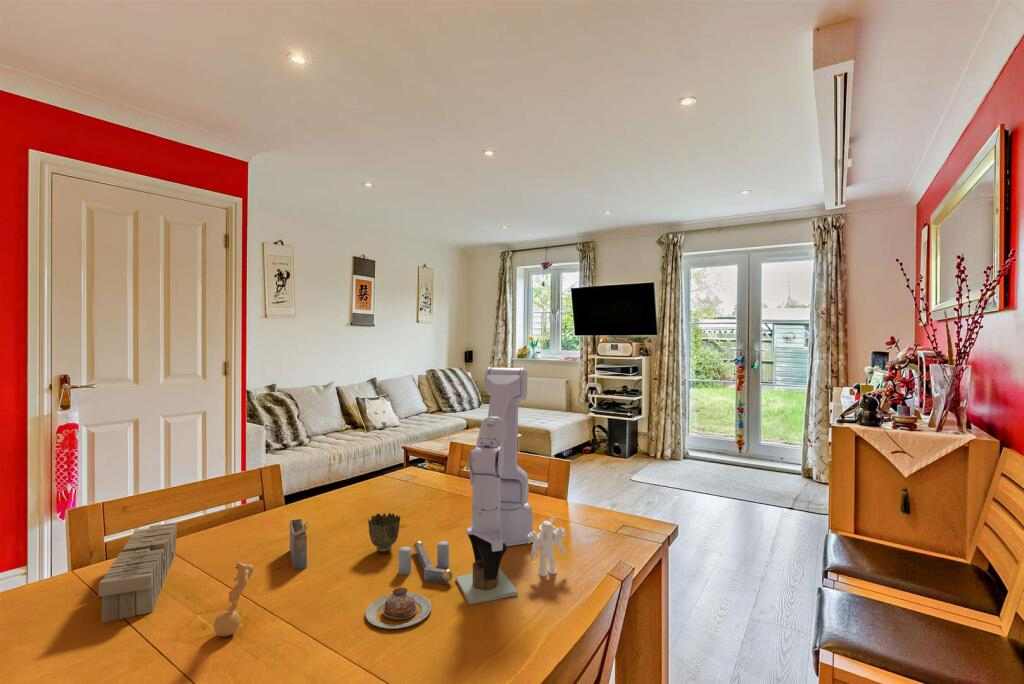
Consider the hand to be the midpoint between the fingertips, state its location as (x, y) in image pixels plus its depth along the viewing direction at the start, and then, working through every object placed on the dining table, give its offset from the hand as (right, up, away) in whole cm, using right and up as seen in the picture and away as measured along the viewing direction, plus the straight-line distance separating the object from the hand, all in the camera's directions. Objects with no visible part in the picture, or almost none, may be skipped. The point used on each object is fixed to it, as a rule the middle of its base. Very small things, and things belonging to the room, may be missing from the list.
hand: (485, 572), depth 101 cm
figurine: (-43, -3, -16) cm, 46 cm away
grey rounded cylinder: (-18, -3, +6) cm, 19 cm away
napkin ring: (0, -2, 0) cm, 2 cm away
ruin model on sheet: (-44, -3, +13) cm, 46 cm away
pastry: (-16, -4, -9) cm, 19 cm away
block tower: (-70, -3, 0) cm, 71 cm away
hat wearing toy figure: (+13, -3, +7) cm, 15 cm away
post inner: (-10, -3, +10) cm, 14 cm away
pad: (0, -3, 0) cm, 3 cm away
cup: (-25, -3, +17) cm, 30 cm away
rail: (-13, -3, +9) cm, 16 cm away
